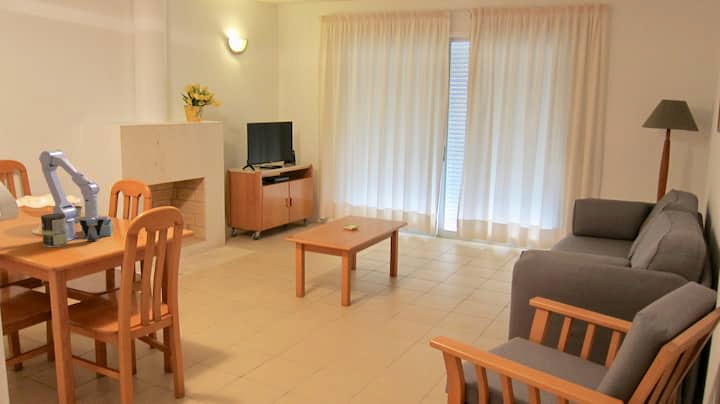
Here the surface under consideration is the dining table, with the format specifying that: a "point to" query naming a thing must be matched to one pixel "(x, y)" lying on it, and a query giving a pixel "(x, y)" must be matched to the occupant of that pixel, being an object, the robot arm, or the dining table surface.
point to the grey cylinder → (92, 232)
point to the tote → (102, 228)
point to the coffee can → (54, 230)
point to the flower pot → (78, 212)
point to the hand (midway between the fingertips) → (92, 235)
